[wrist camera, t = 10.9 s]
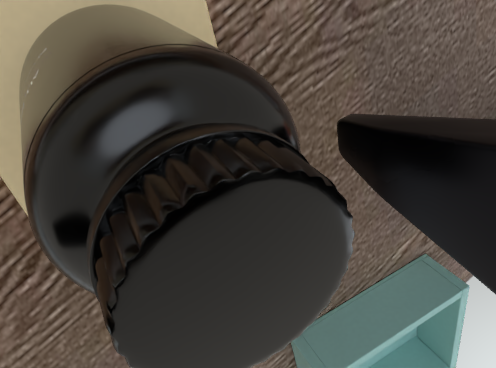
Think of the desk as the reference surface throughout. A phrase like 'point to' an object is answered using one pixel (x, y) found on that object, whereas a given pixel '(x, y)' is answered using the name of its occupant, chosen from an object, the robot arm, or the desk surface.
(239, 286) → the supplement bottle
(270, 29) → the desk surface
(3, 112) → the mat
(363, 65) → the desk surface
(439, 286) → the bin
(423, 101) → the desk surface
